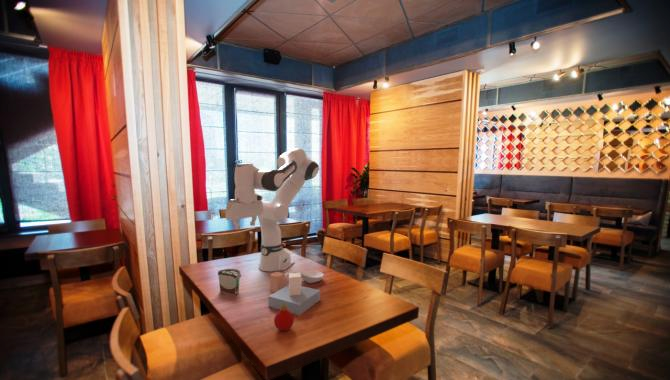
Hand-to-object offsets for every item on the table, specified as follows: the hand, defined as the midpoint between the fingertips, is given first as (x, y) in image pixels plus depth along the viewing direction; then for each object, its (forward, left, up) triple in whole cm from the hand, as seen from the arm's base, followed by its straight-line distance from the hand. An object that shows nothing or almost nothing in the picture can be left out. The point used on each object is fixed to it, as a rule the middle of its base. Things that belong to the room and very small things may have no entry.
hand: (245, 227), depth 139 cm
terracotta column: (-9, +12, -31) cm, 34 cm away
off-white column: (-2, +27, -27) cm, 38 cm away
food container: (+3, -6, -31) cm, 32 cm away
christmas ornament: (+17, +36, -31) cm, 51 cm away
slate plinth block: (-2, +27, -32) cm, 42 cm away
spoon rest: (-22, +17, -32) cm, 42 cm away
